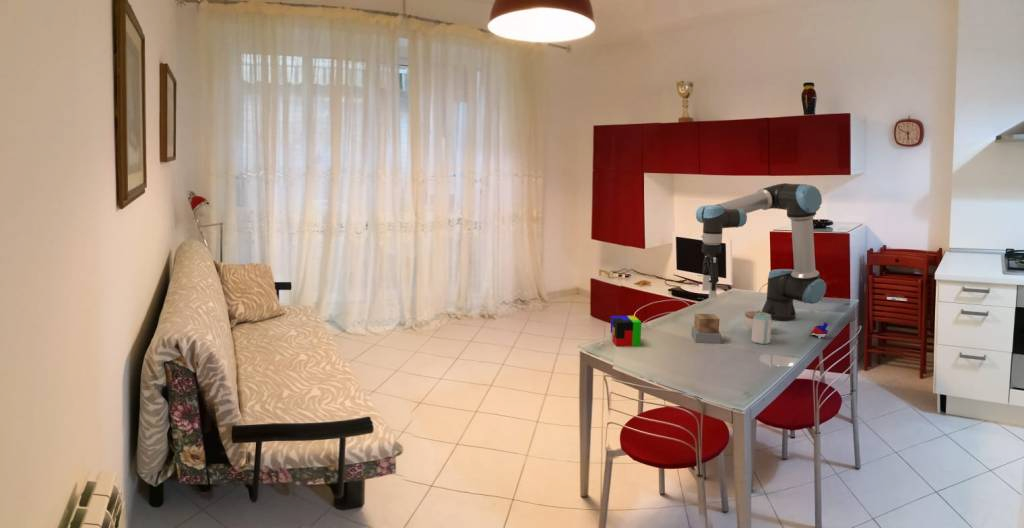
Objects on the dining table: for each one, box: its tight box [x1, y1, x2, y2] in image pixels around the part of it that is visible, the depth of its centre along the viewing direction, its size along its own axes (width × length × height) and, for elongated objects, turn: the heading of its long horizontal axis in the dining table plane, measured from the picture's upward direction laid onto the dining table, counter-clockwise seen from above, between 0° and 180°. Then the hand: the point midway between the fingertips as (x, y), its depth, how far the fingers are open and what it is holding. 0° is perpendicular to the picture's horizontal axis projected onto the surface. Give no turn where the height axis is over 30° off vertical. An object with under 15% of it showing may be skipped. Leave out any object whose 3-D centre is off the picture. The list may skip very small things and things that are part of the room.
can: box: [751, 313, 773, 345], centre depth 258 cm, size 7×7×12 cm
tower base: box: [690, 326, 722, 344], centre depth 262 cm, size 10×10×4 cm
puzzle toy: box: [609, 315, 642, 347], centre depth 257 cm, size 10×10×10 cm
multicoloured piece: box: [810, 322, 829, 335], centre depth 265 cm, size 4×4×8 cm
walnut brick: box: [693, 313, 721, 333], centre depth 261 cm, size 8×8×6 cm
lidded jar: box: [744, 310, 771, 333], centre depth 273 cm, size 11×11×9 cm
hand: (708, 294), depth 259 cm, fingers open, 13 cm apart
